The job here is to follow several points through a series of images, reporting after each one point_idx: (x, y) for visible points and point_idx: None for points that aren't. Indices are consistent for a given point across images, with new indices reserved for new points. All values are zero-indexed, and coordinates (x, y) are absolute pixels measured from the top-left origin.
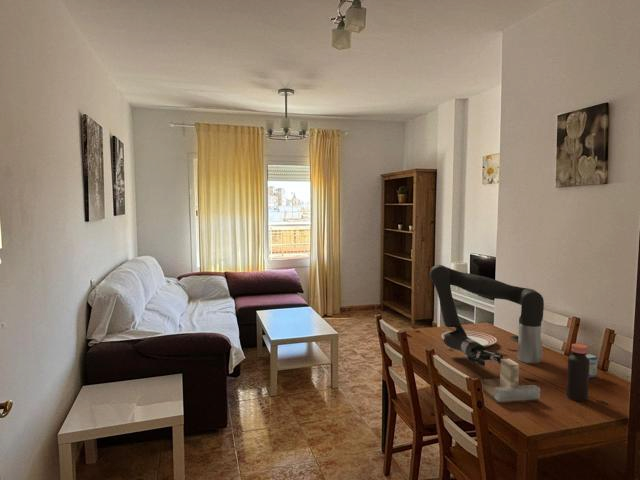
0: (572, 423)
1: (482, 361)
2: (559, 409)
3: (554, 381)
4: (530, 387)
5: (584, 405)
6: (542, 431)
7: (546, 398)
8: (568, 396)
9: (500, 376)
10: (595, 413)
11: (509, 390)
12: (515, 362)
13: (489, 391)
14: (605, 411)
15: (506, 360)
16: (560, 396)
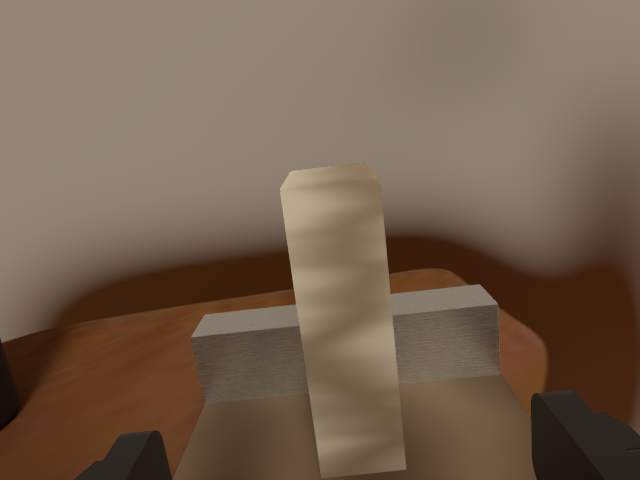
0: (248, 302)
1: (577, 409)
2: (193, 353)
3: None
4: (253, 317)
5: (37, 378)
6: None
7: (132, 425)
8: (4, 415)
9: (395, 351)
10: (86, 341)
11: (411, 293)
12: (290, 175)
13: (516, 442)
14: (27, 351)
15: (340, 176)
16: (15, 445)
